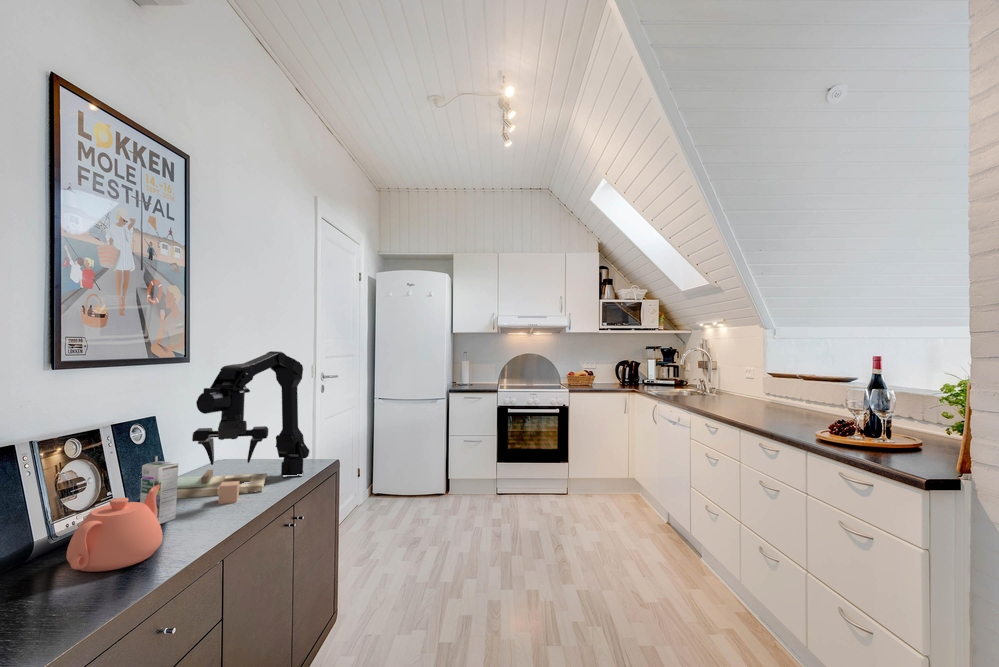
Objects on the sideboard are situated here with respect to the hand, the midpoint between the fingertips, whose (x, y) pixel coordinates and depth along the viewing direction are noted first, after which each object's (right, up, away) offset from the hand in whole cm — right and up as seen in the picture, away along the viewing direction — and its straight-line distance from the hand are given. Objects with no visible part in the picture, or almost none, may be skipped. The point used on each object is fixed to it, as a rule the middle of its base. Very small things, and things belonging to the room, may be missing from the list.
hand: (230, 463), depth 140 cm
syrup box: (-9, -10, -18) cm, 22 cm away
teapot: (-2, -10, -38) cm, 40 cm away
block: (0, -11, 0) cm, 11 cm away
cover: (-17, -8, +8) cm, 21 cm away
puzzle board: (-9, -11, +11) cm, 18 cm away
